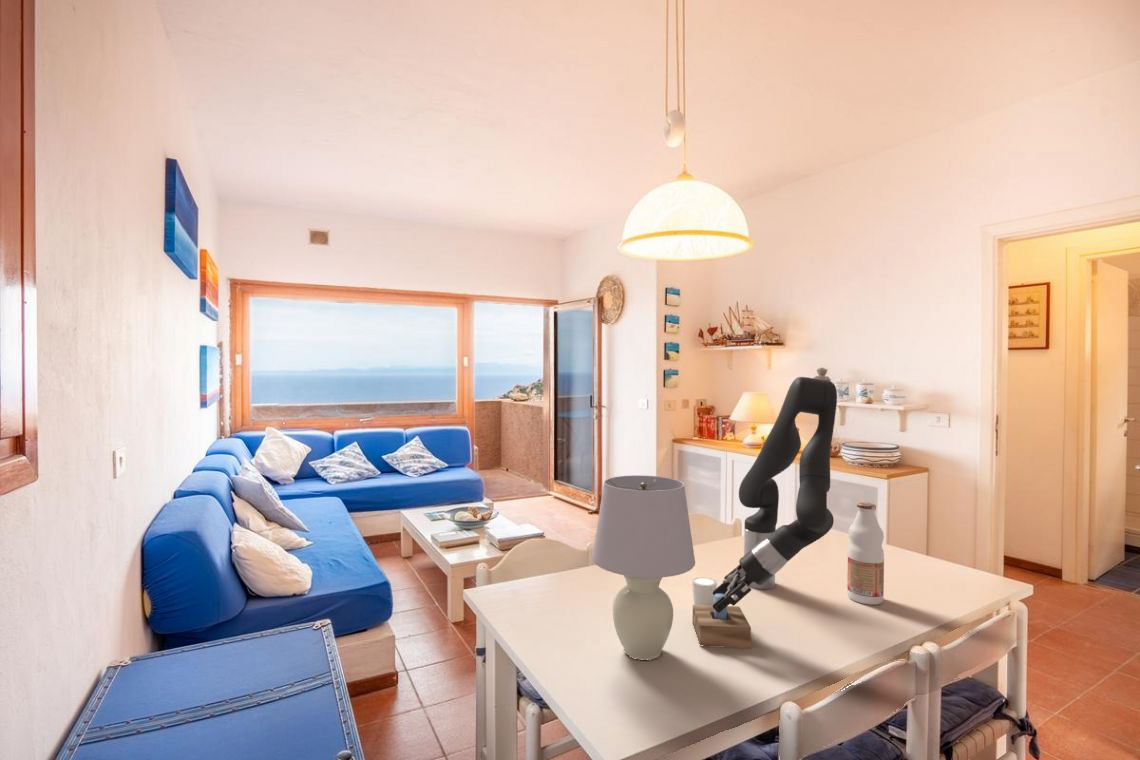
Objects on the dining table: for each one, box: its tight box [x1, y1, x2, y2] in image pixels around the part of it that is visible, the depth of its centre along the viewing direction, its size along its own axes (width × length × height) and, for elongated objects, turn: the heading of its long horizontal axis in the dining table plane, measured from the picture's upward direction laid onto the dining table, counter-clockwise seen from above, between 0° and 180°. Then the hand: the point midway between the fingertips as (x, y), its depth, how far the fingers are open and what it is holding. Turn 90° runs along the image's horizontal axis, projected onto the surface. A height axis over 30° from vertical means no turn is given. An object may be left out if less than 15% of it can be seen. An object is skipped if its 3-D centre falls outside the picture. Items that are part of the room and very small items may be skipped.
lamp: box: [591, 474, 696, 661], centre depth 131 cm, size 24×24×40 cm
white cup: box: [691, 576, 718, 606], centre depth 158 cm, size 7×7×7 cm
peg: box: [714, 594, 727, 620], centre depth 140 cm, size 3×3×10 cm
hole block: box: [692, 604, 752, 649], centre depth 140 cm, size 12×12×5 cm
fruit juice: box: [846, 501, 885, 606], centre depth 163 cm, size 9×9×28 cm
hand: (715, 602), depth 140 cm, fingers open, 8 cm apart
